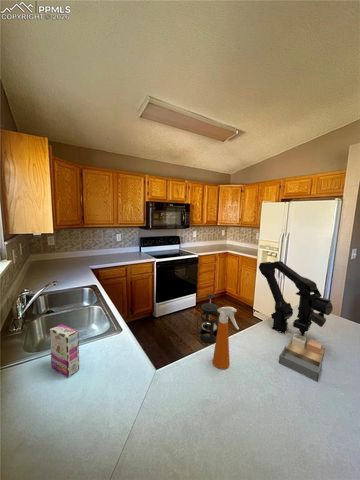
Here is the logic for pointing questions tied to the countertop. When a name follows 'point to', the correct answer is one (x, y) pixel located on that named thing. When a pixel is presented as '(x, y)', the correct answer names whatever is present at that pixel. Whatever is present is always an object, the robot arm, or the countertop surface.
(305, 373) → the tray
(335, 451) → the countertop surface
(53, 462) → the countertop surface
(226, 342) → the spray bottle
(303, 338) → the cream rectangular block
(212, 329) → the french press
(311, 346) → the tan cardboard box
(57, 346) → the candy bar box
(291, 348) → the oak board
